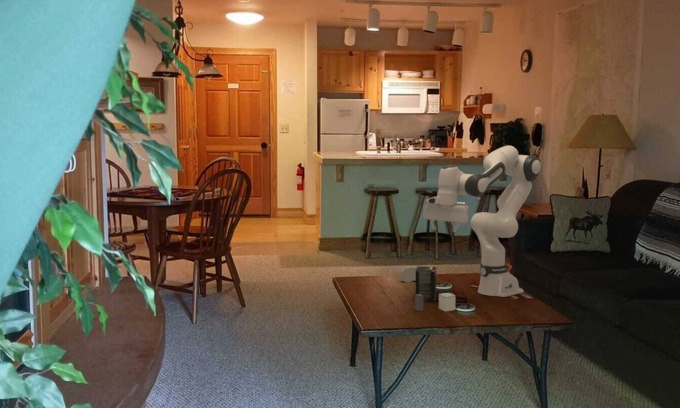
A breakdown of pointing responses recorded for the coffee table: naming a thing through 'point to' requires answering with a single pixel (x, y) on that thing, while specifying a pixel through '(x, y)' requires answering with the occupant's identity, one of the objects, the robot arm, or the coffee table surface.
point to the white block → (446, 302)
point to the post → (419, 302)
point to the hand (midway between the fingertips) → (444, 231)
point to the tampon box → (426, 283)
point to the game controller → (409, 273)
